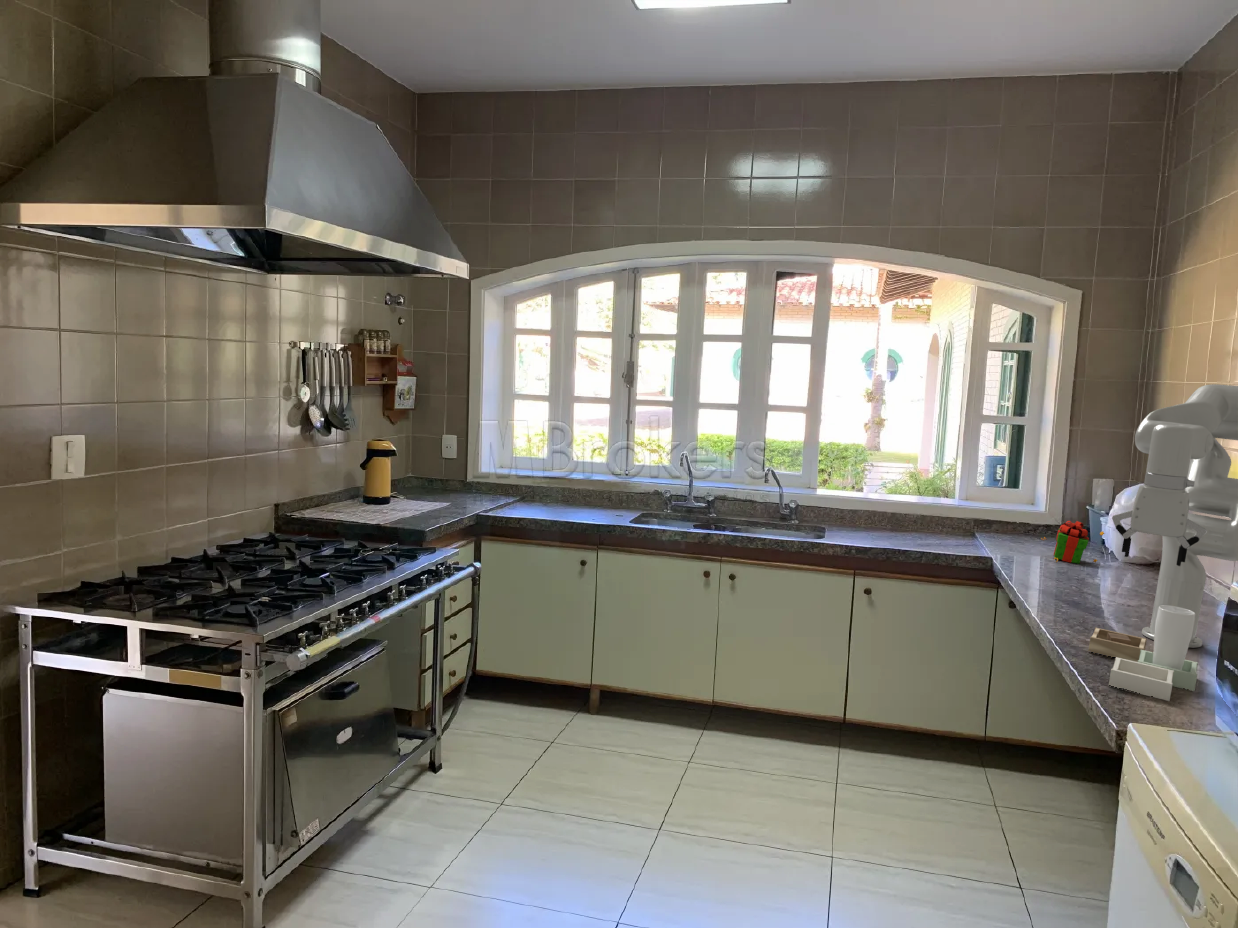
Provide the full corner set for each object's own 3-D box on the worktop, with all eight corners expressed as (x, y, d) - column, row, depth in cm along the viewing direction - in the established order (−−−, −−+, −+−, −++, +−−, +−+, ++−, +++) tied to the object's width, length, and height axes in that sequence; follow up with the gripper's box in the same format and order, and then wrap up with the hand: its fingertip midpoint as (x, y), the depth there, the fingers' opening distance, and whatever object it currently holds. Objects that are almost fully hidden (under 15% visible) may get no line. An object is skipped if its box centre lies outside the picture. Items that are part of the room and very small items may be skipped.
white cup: (1187, 686, 179) (1199, 616, 177) (1150, 679, 181) (1161, 610, 179) (1179, 675, 185) (1191, 608, 183) (1143, 669, 188) (1155, 602, 186)
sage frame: (1138, 664, 190) (1140, 649, 190) (1195, 677, 185) (1197, 662, 184) (1134, 676, 182) (1137, 661, 182) (1194, 691, 176) (1197, 674, 176)
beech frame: (1092, 641, 205) (1095, 627, 205) (1144, 653, 199) (1146, 638, 199) (1088, 651, 197) (1090, 637, 196) (1141, 664, 191) (1144, 649, 190)
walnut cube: (1104, 648, 200) (1107, 632, 200) (1124, 652, 199) (1126, 635, 199) (1108, 654, 197) (1111, 637, 196) (1128, 657, 195) (1130, 640, 195)
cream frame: (1113, 672, 184) (1115, 656, 183) (1171, 686, 178) (1174, 670, 177) (1108, 685, 175) (1111, 669, 175) (1169, 701, 169) (1172, 684, 169)
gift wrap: (1096, 574, 288) (1108, 534, 284) (1036, 559, 295) (1047, 519, 292) (1093, 560, 305) (1105, 522, 302) (1037, 545, 313) (1047, 508, 309)
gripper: (1213, 486, 181) (1199, 565, 184) (1119, 475, 191) (1107, 549, 193) (1214, 490, 175) (1200, 571, 178) (1117, 478, 184) (1105, 555, 187)
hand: (1152, 560), depth 185 cm, fingers open, 9 cm apart
